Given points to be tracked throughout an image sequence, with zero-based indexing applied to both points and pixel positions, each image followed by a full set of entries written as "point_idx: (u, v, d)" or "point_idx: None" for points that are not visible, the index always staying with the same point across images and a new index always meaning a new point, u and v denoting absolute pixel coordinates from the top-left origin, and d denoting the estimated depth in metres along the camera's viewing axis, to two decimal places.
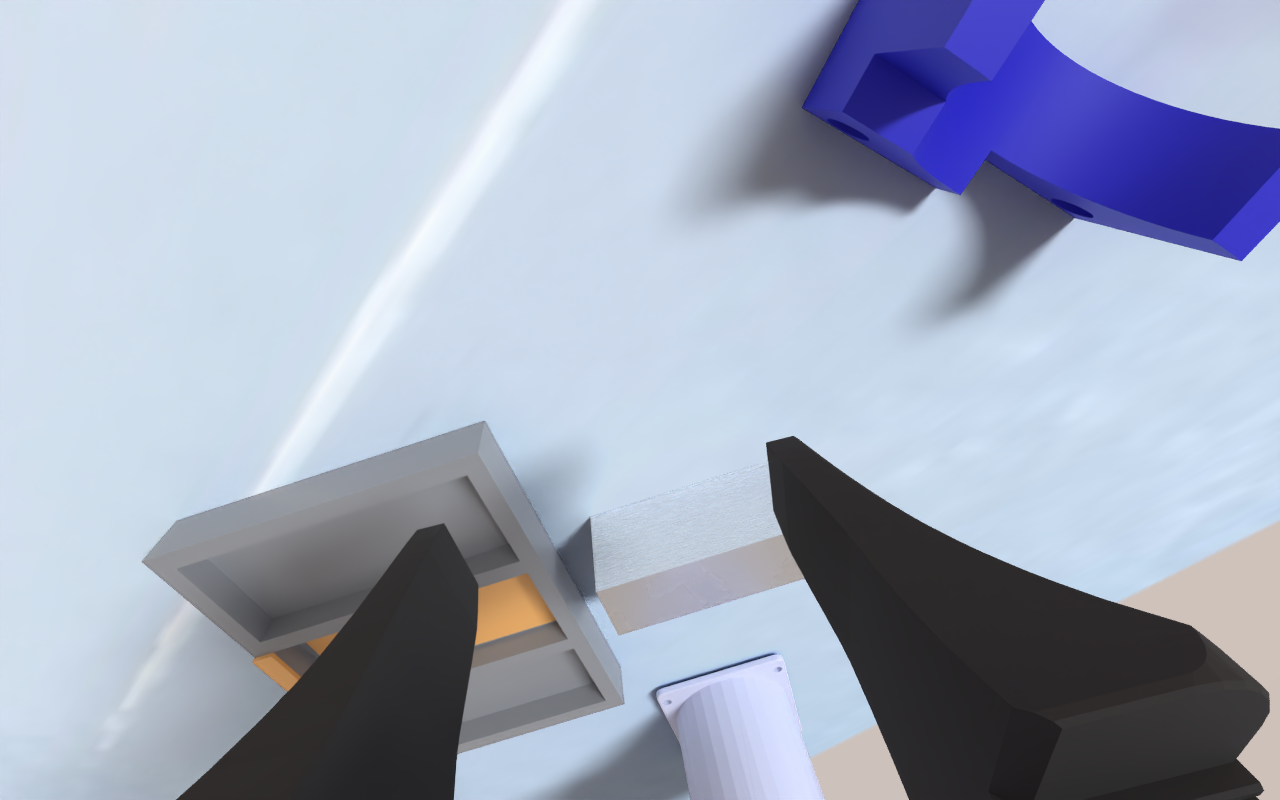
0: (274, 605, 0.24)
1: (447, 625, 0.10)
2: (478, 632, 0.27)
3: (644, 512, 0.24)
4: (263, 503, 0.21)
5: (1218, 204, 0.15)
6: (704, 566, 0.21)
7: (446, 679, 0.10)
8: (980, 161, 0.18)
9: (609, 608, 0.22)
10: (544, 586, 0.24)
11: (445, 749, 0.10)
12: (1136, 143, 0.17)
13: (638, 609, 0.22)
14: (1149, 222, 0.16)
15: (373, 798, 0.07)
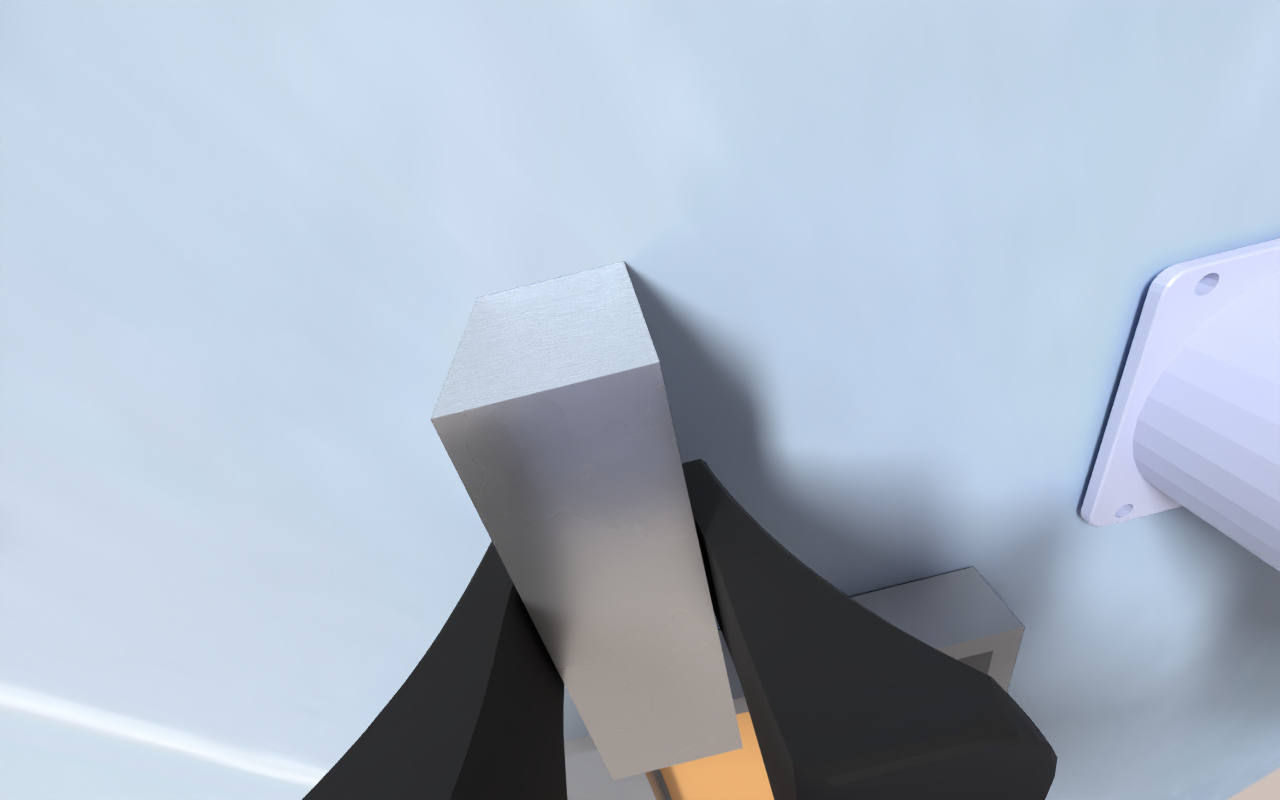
0: None
1: None
2: None
3: None
4: None
5: None
6: (580, 661, 0.10)
7: None
8: None
9: (662, 763, 0.12)
10: None
11: (555, 722, 0.10)
12: None
13: (681, 732, 0.11)
14: None
15: (517, 762, 0.07)
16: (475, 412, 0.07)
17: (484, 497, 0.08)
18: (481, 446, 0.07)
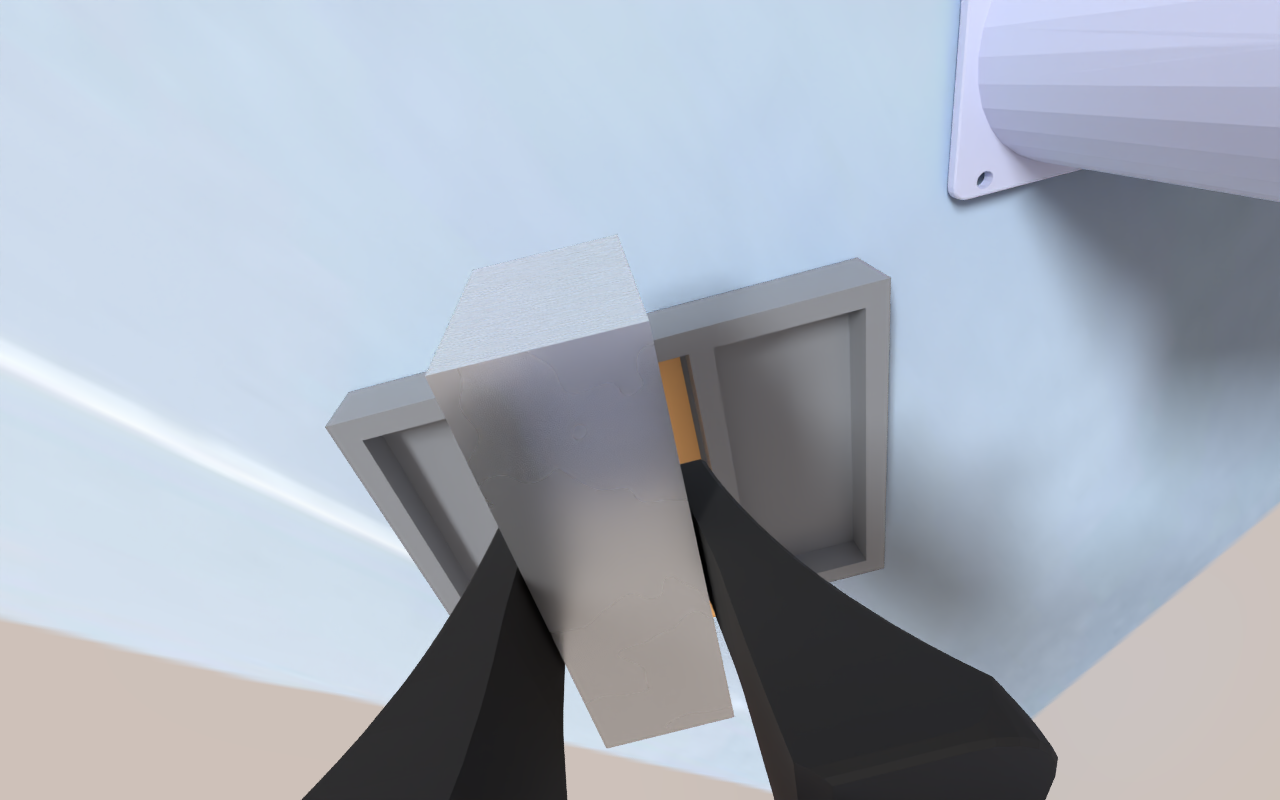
0: None
1: None
2: (676, 446, 0.20)
3: None
4: None
5: None
6: (573, 626, 0.10)
7: (550, 653, 0.10)
8: None
9: (654, 732, 0.12)
10: None
11: (555, 722, 0.10)
12: None
13: (673, 700, 0.12)
14: None
15: (516, 762, 0.07)
16: (468, 370, 0.07)
17: (478, 456, 0.08)
18: (474, 404, 0.07)
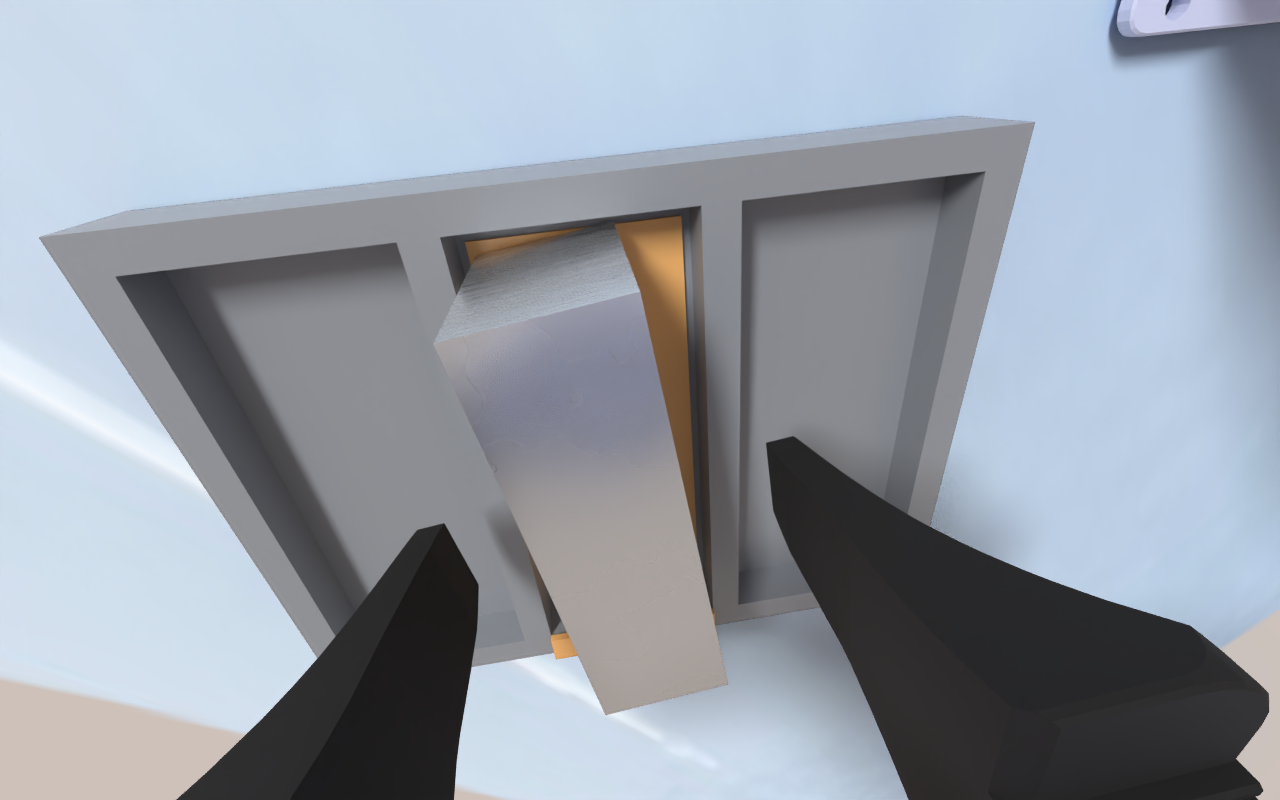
0: (500, 599, 0.17)
1: (447, 625, 0.10)
2: None
3: None
4: None
5: None
6: (573, 590, 0.10)
7: (446, 679, 0.10)
8: None
9: (651, 698, 0.13)
10: (494, 211, 0.10)
11: (446, 749, 0.10)
12: None
13: (668, 666, 0.12)
14: None
15: (373, 798, 0.07)
16: (473, 338, 0.08)
17: (482, 422, 0.08)
18: (479, 371, 0.08)
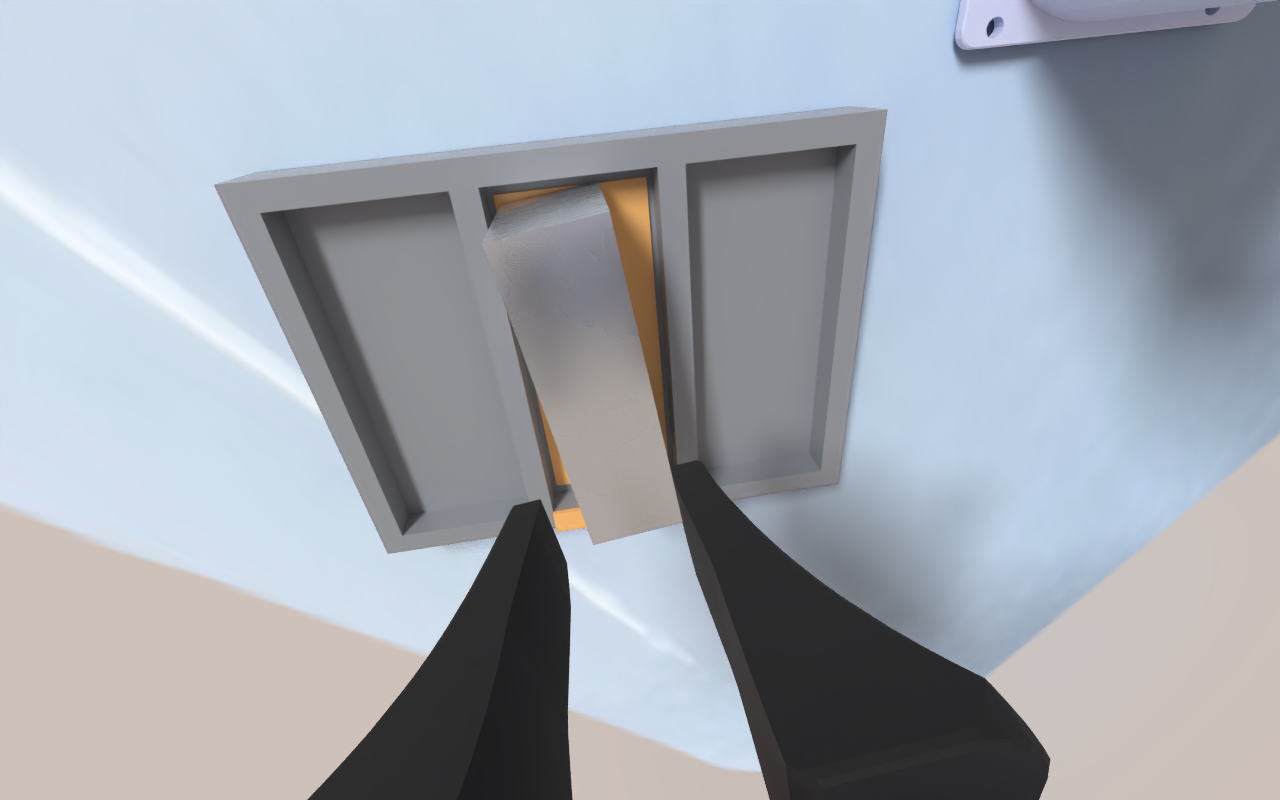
0: (513, 487, 0.22)
1: (552, 599, 0.10)
2: (631, 302, 0.18)
3: None
4: None
5: None
6: (568, 432, 0.15)
7: (555, 652, 0.10)
8: None
9: (627, 532, 0.17)
10: (515, 169, 0.15)
11: (560, 720, 0.10)
12: None
13: (638, 503, 0.17)
14: None
15: (523, 760, 0.07)
16: (506, 240, 0.12)
17: (510, 299, 0.13)
18: (509, 263, 0.13)
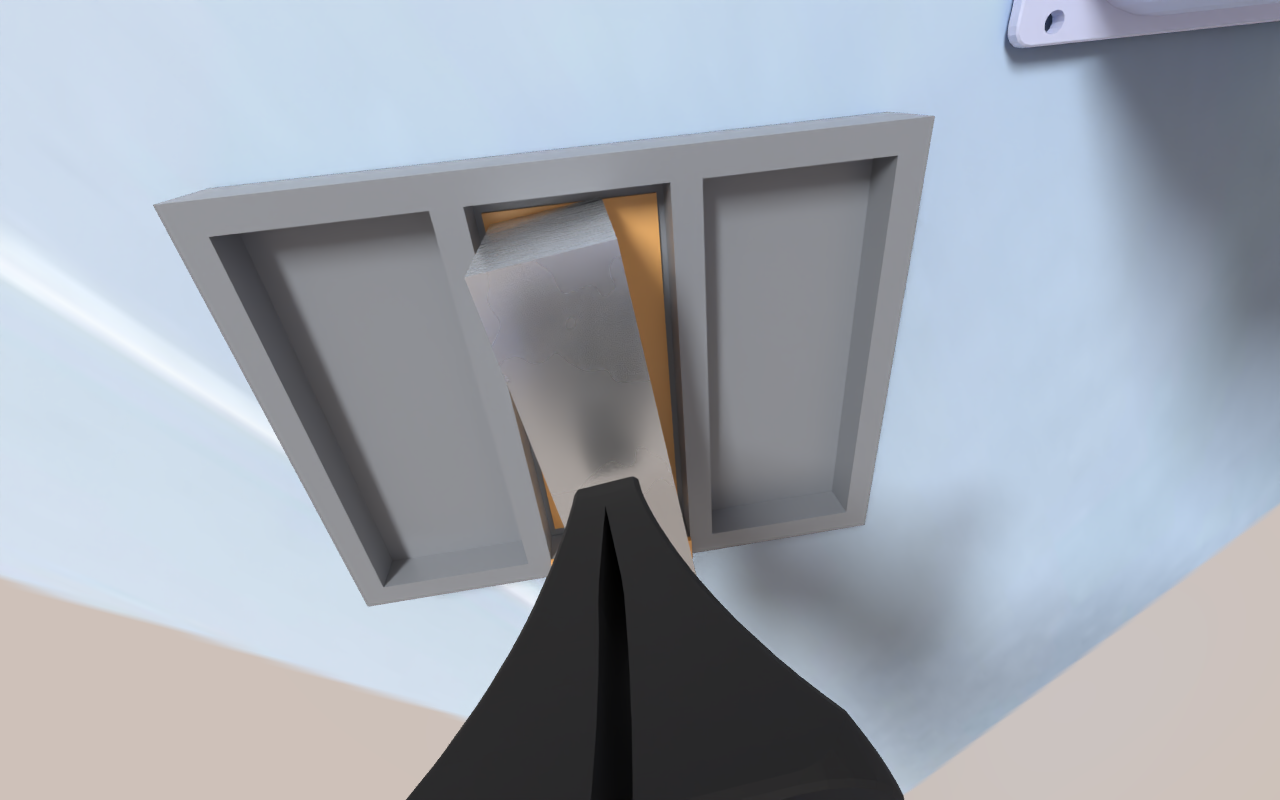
0: (506, 530, 0.20)
1: (622, 581, 0.10)
2: (639, 331, 0.16)
3: None
4: None
5: None
6: (568, 488, 0.13)
7: None
8: None
9: None
10: (506, 185, 0.13)
11: None
12: None
13: None
14: None
15: (623, 735, 0.07)
16: (494, 274, 0.10)
17: (499, 341, 0.11)
18: (497, 300, 0.11)
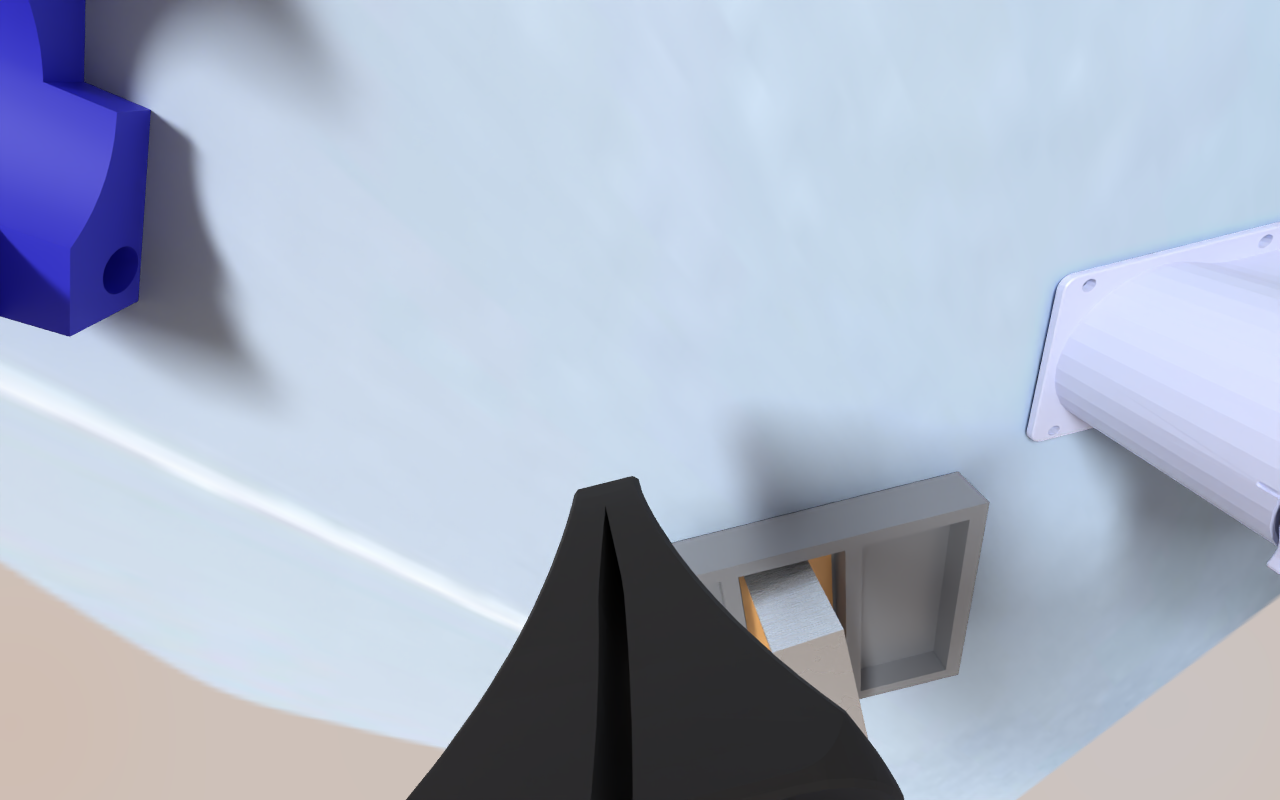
0: None
1: (621, 581, 0.10)
2: None
3: None
4: None
5: None
6: None
7: None
8: (67, 90, 0.13)
9: None
10: (760, 566, 0.24)
11: None
12: None
13: None
14: None
15: (623, 735, 0.07)
16: (785, 648, 0.22)
17: None
18: (785, 657, 0.22)
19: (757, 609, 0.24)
